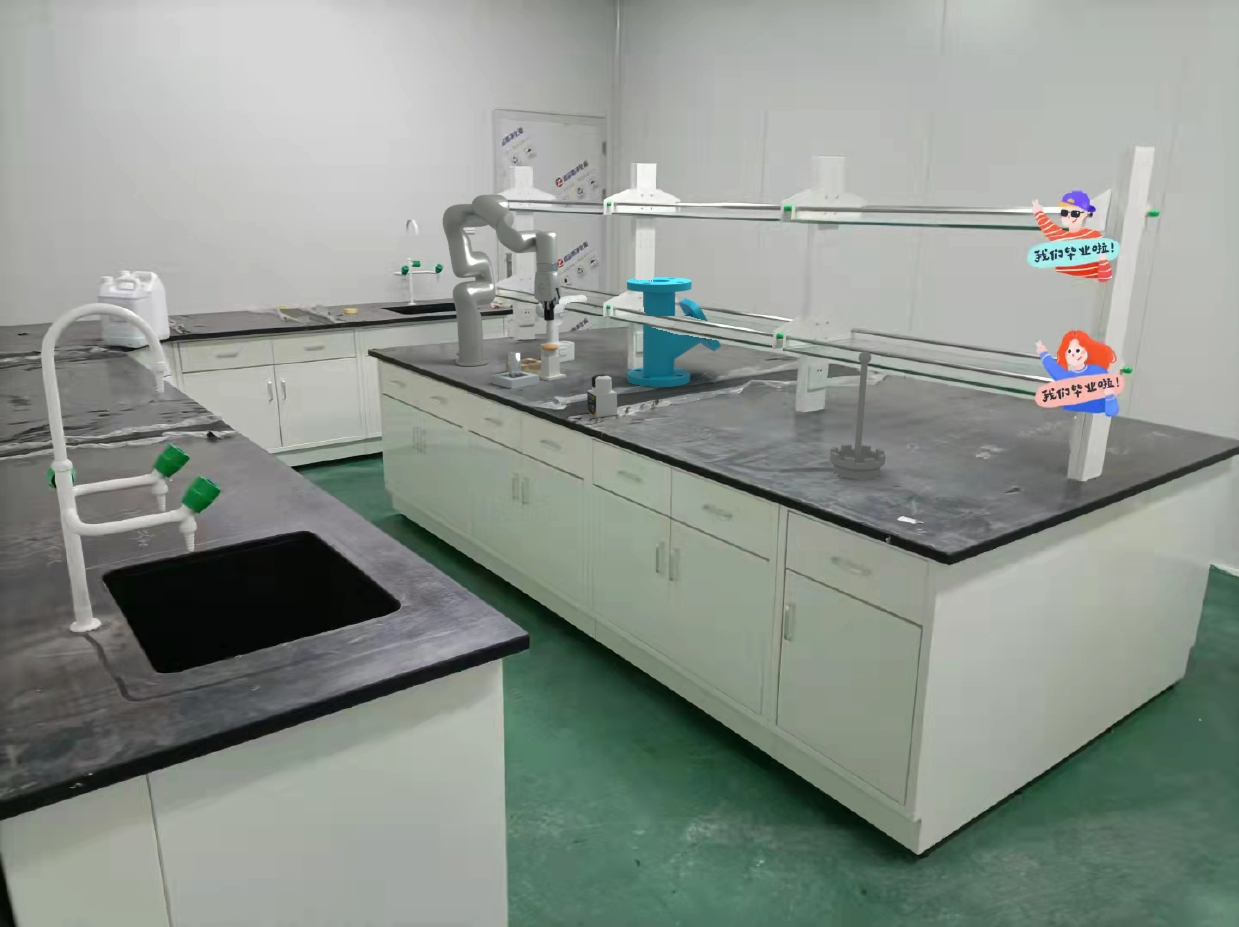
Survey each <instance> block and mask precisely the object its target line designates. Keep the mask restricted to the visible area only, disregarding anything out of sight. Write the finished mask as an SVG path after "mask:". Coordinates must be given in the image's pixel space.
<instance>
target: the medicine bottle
mask: <svg viewBox="0 0 1239 927" xmlns="http://www.w3.org/2000/svg"><path fill="white" fill-rule="evenodd" d="M612 380H613V378H612V376H611V375H609V374H596V375H593V376H592V377H591V389H588V390H586V392H587V394H586V395H587V396H586V397H587V398H586V399H587V400H586V401H587V404H586V405H587V413H589V414H590V415H591V414H592V415H591V416H594V417H595V418H603V417H613V416H618V392H616V391H615V390H613V386H612V385H613V381H612Z"/></svg>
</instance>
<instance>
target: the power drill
mask: <svg viewBox="0 0 1239 927" xmlns="http://www.w3.org/2000/svg"><path fill="white" fill-rule="evenodd" d="M570 302H586V303H587V302H588V297H587V296H586V295H584V294H576V295H566V296H561V299H560V300H559V304H558V305H555V309H554V320H551V321H546V326H545V329H546V332H545V333H546V334H545V335H546V342H543V343H540V353H541V354H540V357H541V356H542V355H544V350H542V345H546V344H555V345H557V346H558V349H557V350H556V355H558V356H559V359H560V364H561V363H567V362H572V361H575V345H576V344H575V342H574V341H571V340H570V341H569V340H559V338H560V336H559V335H560V334H559V331H560V330H559V327H560V326H561V325H563V319H564V317H567V315H568V313H569V312H570V311H567V310H563V309H565V305H566V304H567V303H570ZM535 314H536V315H537V317H539V318H541V319H544V309H543V306H542V304H541V303H539V302H538V303H537V305H536V306H535Z"/></svg>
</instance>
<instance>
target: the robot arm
mask: <svg viewBox="0 0 1239 927" xmlns="http://www.w3.org/2000/svg"><path fill="white" fill-rule="evenodd" d="M510 207H511V206H510V202H509V201H508V199H507V197H505V196H504V195H502V194H481V195H478V196H476V197H475V198H474V199H472V202H471V203H457V204H454V205H451V206H449V207H447V208H446V209H445V210H444V212H443V216H442V228H443V231H444V234H445V238H446V240H447V245H448V252H449V256H450V258H449V259H450V263H451V268H452V272H453V274H454V276H455V277H456V278H459V279H468V278H470V279H471V278H474V279H475V280H468V281H462V282H459V283H457V284H456V285H455V286H454V288H453V290H452V299H453V303H454V307H455V314H456V324H457V326H456V327H457V339H458V351H457V352H455V353H456V354H455V356H458V359H456V360H455V365H457V366H460V367H461V366H462V367H475V366H476V367H478V366H484V365H487V364H488V363H489V359H488V358H487V357H486V358H485V356H484V355H485V353H484V334H483V333H484V331H483V318H482V315H481V312H480V310H479V309H478V306H483V305H484V306H485V305H489V304H491V303H493V302H494V301H495V298H496V294H497V293H496V290H497V289H496V283H495V278H494V272H493V265H492V261H491V259H490V257H489V256H488V254H486V252H483V251H479V250H478V251H477V250H475V251H473V248H472V241H471V239H470V237H469V235H468V234H467V232H466V231H465V230H464V229H466V228H480V227H486V226H489V227H490V228H492V229H493V230H495V235H496V238H497V239H498V241H499V243H500V244H501V245H502V246H503V247H505V248H507V249H508V250H509V251H511V252H513V253H515V254H526V253H535V262H536V263H535V264H536V271H535V273H534V274H535V275H534V281H533V282H534V288H533V290H534V291H533V294H534V295H533V296H534V299H535V300H537V302H538V304H539V303H541V304H542V306H543V309H544V318H543V320H544V321H545V322H547V321H551V320H554V309H555V305H558V304H559V300H560V299H561V297H562V288H561V279H560V274H559V258H558V235H557V233H556V232H555V231H550V230H547V231H546V230H545V231H543V230H539V229H537V230H536V229H532V230H531V229H530V230H529V229H528V230H516V229H515V228H513V227H512V226H513V225H514V222H515V221H514V220H515V217H514V214H513V213H512V212H511V211H510Z"/></svg>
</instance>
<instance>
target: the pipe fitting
mask: <svg viewBox="0 0 1239 927" xmlns="http://www.w3.org/2000/svg"><path fill="white" fill-rule="evenodd" d="M692 283H693V282H692V280H691V279H688V278H683V277H671V276H670V277H668V276H667V277H664V276H663V277H661V276H660V277H659V276H657V277H656V276H655V277H653V282H652V280H651V282H650V280H640V281H639V280H636V278H629V279H628V280H626V290H628V291H632V292H636V293H637V292H639V293H642V308H643V307H644V312H645V313H646V314H647V315H648V316H675V317H676V293H678V292H686V291H690V290H692ZM678 302H679V307H680V308H681V311H682V312H683V314H684V315H683V316H691V317H694V318H697V319H701V320H705V321H708V319H707V317H706V315H705V313H704V312H703V310H702V308H701V307H700V305H699V304H698V303H697V302H695V301H693V300H692V299H689V298H687V297H685V298H683V299H682V300H681V301H678ZM685 314H686V315H685ZM699 344H701V345H703V347H705V348H707V349H708V350H710V351H713V352H716V351H717V350H719V349H720V348H721V346H722V345H721V343H720V340H718V341H717V340H712V339H706V338H699V337H693V336H689V335H678V334H673V333H670V332H667V331H663V330H658V329H656V328H652V327H650V326H648V325H643V324H642V367H637V368H633V369H631V370H628V372H627V378H626V379H627V382H628V383H629V384H631V383H632V385H634V384H635V386H638V385H641V386H640V387H645V386H651V387H650V388H669V387H678V386H683V385H686V384H689V383H690V382H691V371H689V370H687V369H684V368H682V367H681V368H680V367H675V359H677V358H679V357H681V356H682V355H684V354H685V353H687V352H688V351H691V349H694V348H695V347H696V346H698V345H699Z"/></svg>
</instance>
